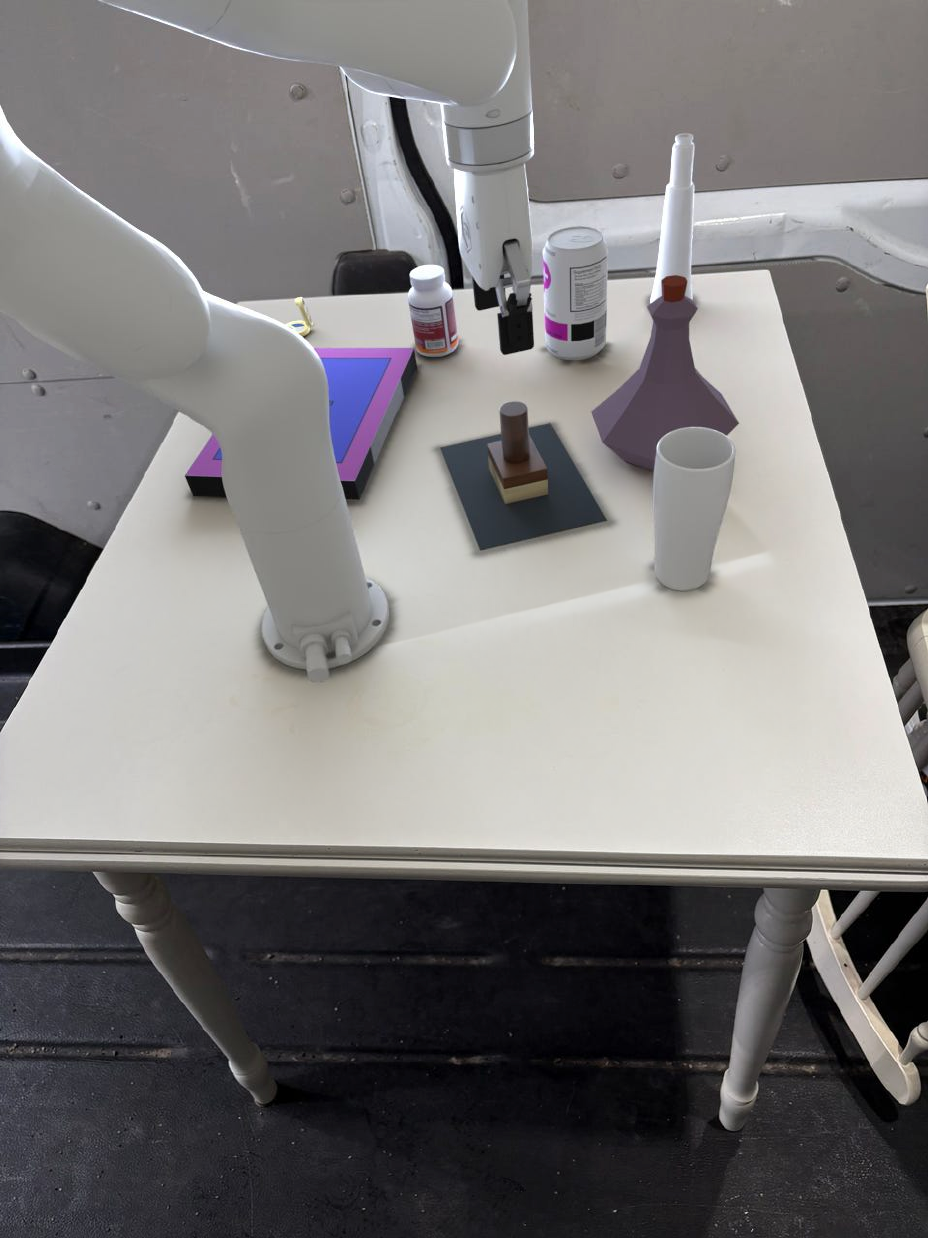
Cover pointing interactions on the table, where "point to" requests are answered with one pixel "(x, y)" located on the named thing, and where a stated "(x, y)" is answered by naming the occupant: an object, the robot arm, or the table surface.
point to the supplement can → (575, 292)
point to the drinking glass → (689, 503)
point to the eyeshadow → (301, 326)
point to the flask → (662, 387)
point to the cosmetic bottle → (677, 218)
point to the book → (340, 415)
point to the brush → (516, 457)
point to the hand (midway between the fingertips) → (503, 327)
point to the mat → (524, 518)
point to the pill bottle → (432, 312)
